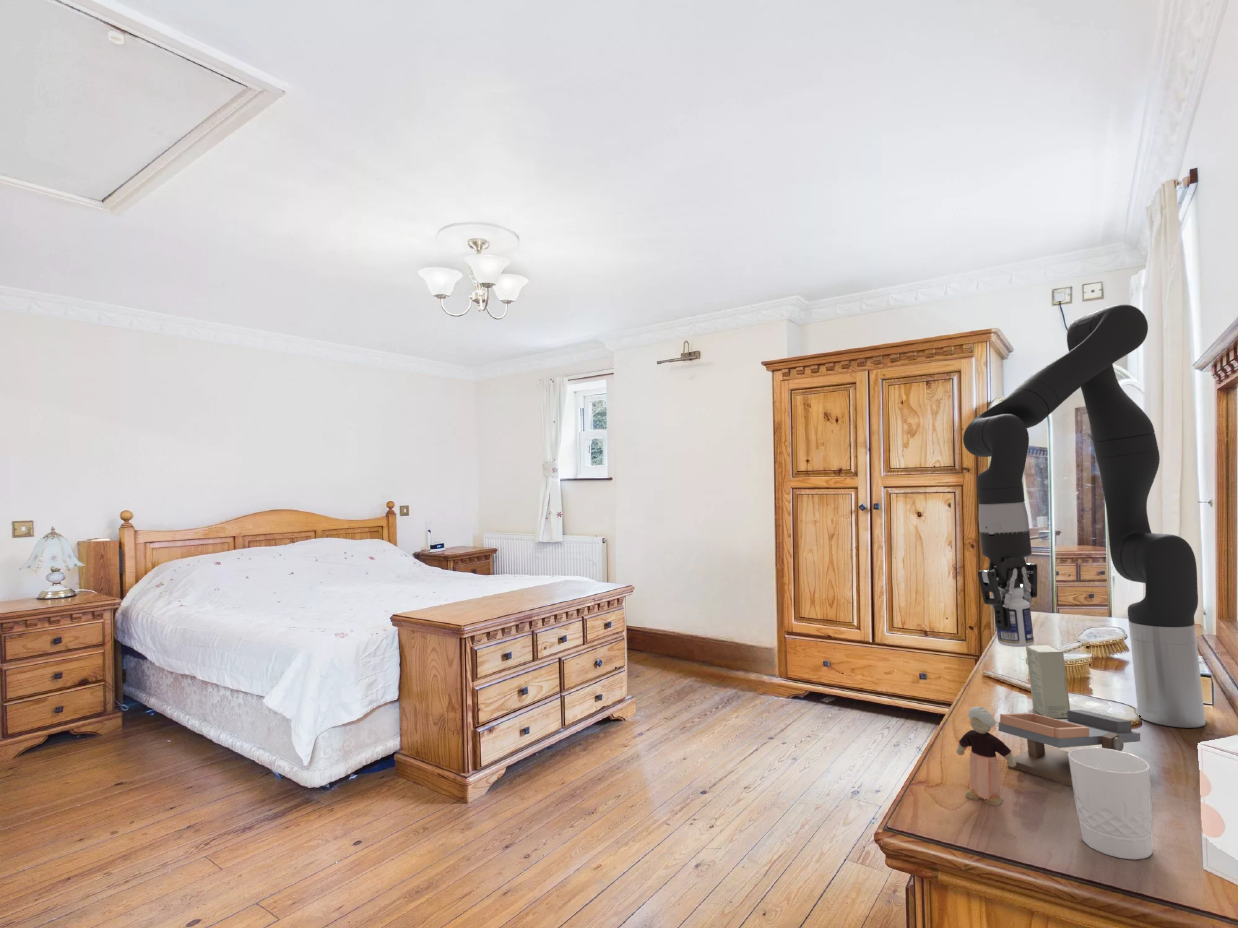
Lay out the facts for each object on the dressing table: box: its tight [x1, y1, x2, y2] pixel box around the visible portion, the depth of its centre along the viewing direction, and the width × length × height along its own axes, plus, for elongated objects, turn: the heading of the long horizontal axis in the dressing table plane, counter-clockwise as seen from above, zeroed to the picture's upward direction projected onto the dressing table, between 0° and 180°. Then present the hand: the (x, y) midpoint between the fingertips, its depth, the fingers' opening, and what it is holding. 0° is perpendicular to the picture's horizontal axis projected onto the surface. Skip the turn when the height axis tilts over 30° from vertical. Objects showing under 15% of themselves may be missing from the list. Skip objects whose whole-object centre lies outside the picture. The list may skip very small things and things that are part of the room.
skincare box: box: [1025, 644, 1071, 719], centre depth 123 cm, size 6×4×12 cm
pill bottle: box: [995, 587, 1035, 648], centre depth 112 cm, size 5×5×10 cm
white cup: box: [1068, 746, 1153, 860], centre depth 78 cm, size 8×8×10 cm
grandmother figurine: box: [956, 706, 1016, 807], centre depth 90 cm, size 8×4×13 cm, turn 50°
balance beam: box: [997, 709, 1141, 749], centre depth 97 cm, size 22×8×3 cm, turn 118°
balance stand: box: [1007, 713, 1125, 788], centre depth 97 cm, size 10×14×7 cm
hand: (1013, 626), depth 112 cm, fingers closed on pill bottle, 5 cm apart
